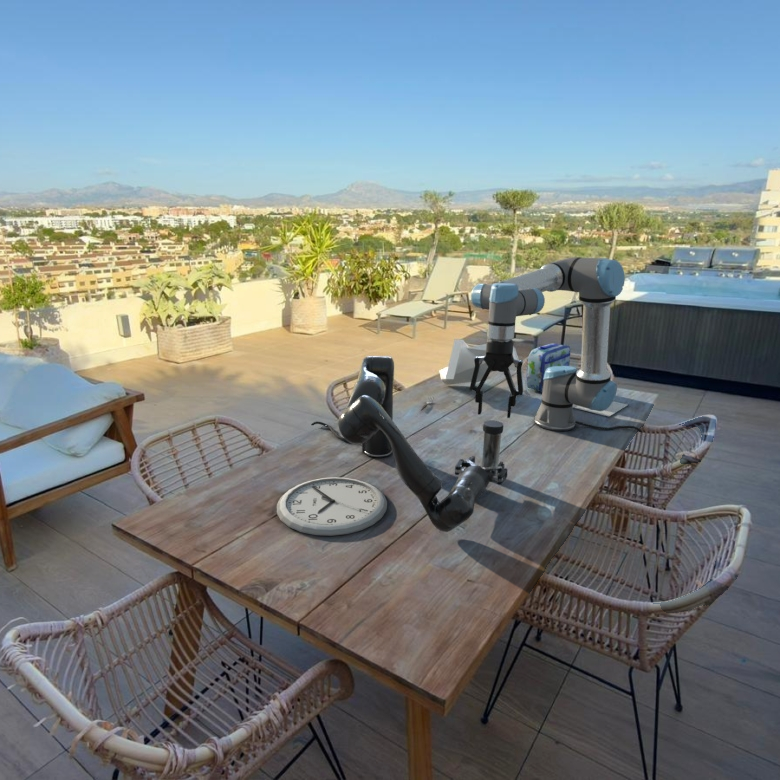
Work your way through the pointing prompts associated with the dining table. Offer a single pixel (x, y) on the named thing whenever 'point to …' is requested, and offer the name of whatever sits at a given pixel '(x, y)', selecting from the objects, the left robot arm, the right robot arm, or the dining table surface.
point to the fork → (427, 403)
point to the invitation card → (609, 411)
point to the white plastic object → (468, 364)
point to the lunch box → (545, 363)
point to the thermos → (491, 450)
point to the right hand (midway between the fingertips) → (494, 414)
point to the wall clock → (331, 506)
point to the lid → (493, 427)
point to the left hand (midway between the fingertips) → (487, 461)
